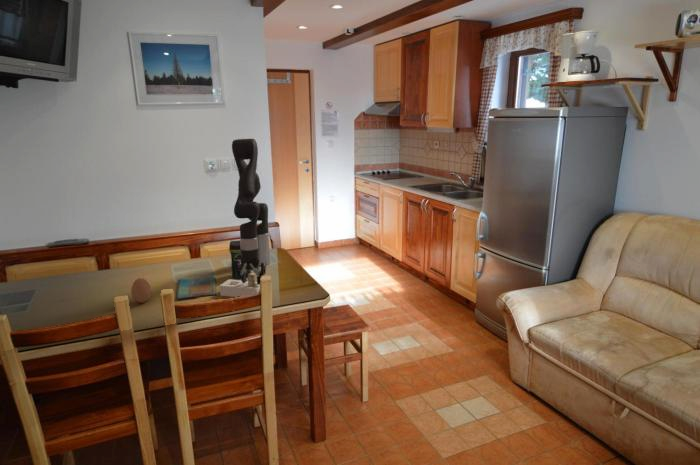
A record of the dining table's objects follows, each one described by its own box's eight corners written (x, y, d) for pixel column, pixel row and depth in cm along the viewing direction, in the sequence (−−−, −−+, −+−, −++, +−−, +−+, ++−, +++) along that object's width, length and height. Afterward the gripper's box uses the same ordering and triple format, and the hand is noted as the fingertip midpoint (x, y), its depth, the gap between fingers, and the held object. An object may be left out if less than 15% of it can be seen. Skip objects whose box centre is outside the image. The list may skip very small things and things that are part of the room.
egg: (130, 302, 186) (127, 278, 184) (148, 297, 191) (145, 274, 189) (136, 307, 181) (133, 283, 178) (155, 302, 186) (152, 278, 183)
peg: (250, 294, 195) (249, 273, 192) (257, 294, 194) (255, 273, 192) (247, 296, 192) (246, 275, 189) (254, 297, 191) (252, 275, 189)
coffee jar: (251, 273, 221) (249, 238, 217) (250, 278, 214) (248, 242, 209) (232, 274, 220) (229, 239, 215) (230, 279, 212) (227, 243, 207)
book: (215, 279, 214) (215, 274, 214) (217, 297, 193) (217, 291, 192) (178, 283, 209) (177, 278, 208) (176, 302, 187) (175, 296, 187)
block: (229, 289, 200) (228, 279, 199) (265, 293, 196) (265, 282, 194) (220, 296, 192) (219, 285, 191) (257, 300, 188) (257, 289, 187)
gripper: (268, 245, 189) (270, 281, 193) (238, 243, 193) (240, 278, 197) (260, 250, 182) (263, 287, 186) (230, 248, 186) (232, 284, 190)
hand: (251, 283), depth 192 cm, fingers open, 6 cm apart
